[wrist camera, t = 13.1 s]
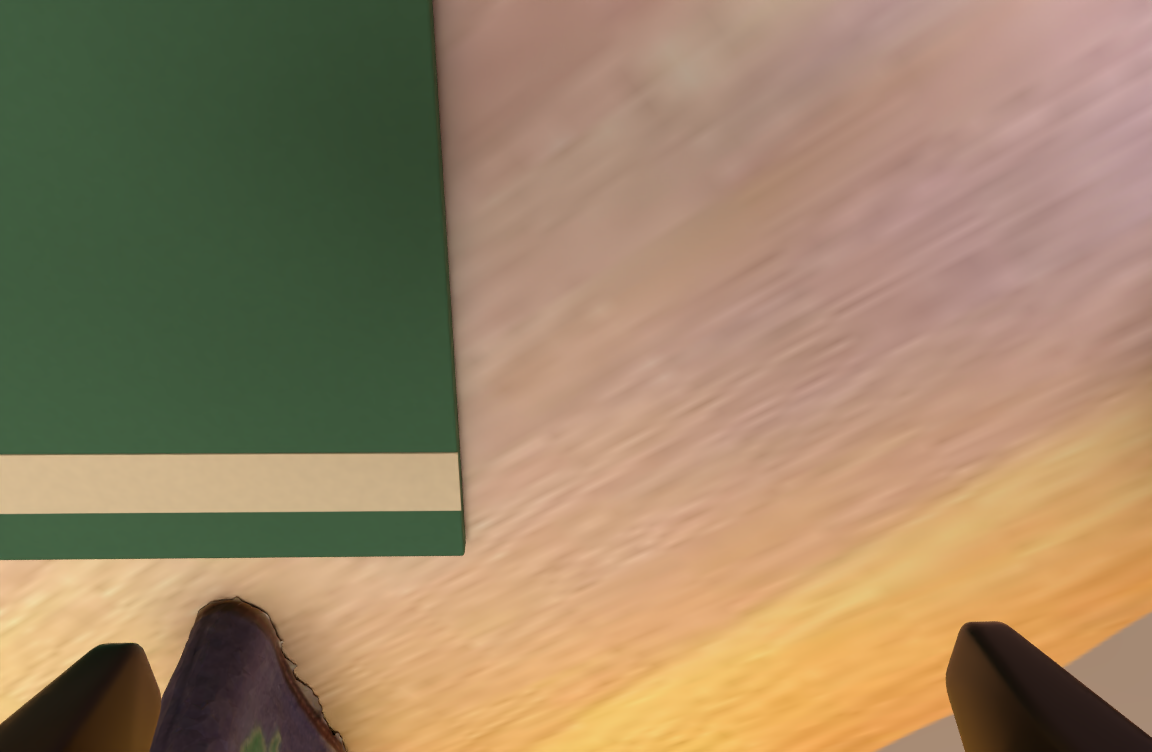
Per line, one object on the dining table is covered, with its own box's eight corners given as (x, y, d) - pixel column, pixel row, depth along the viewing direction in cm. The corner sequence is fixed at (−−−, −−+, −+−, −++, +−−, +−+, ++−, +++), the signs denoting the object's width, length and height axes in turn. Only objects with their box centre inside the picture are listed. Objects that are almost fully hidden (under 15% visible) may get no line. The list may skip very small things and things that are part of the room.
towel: (413, -307, 15) (408, -313, 14) (465, 542, 25) (464, 558, 25) (-414, -334, 14) (-453, -343, 14) (-14, 546, 25) (-27, 562, 24)
